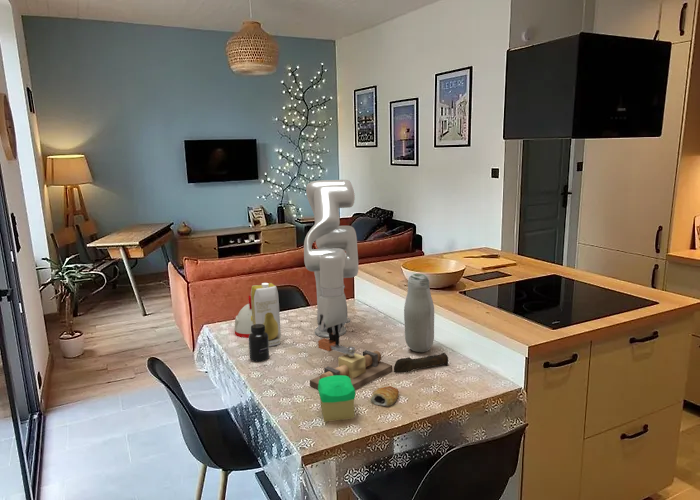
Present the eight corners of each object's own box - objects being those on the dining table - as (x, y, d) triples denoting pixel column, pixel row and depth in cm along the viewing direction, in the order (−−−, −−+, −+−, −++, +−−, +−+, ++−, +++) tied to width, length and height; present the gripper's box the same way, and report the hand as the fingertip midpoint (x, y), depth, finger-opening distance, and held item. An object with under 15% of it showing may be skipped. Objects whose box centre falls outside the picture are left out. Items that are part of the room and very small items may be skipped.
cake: (322, 425, 135) (320, 390, 133) (317, 405, 145) (316, 373, 143) (358, 420, 137) (357, 386, 135) (351, 402, 147) (350, 369, 145)
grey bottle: (439, 349, 183) (439, 273, 177) (422, 358, 176) (422, 279, 170) (416, 343, 190) (415, 269, 184) (399, 351, 182) (398, 275, 177)
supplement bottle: (265, 362, 176) (263, 329, 174) (246, 361, 177) (244, 329, 175) (272, 355, 183) (270, 323, 180) (254, 354, 184) (252, 322, 182)
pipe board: (365, 361, 175) (365, 341, 173) (392, 371, 166) (392, 350, 165) (310, 386, 157) (308, 364, 156) (336, 398, 149) (335, 375, 148)
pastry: (384, 390, 154) (384, 378, 153) (404, 395, 150) (404, 383, 149) (368, 404, 146) (368, 391, 145) (390, 409, 142) (389, 397, 142)
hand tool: (443, 362, 173) (443, 349, 172) (449, 366, 169) (448, 353, 168) (391, 370, 167) (390, 357, 167) (395, 375, 164) (395, 361, 163)
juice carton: (259, 350, 188) (254, 286, 183) (252, 343, 195) (248, 282, 190) (283, 344, 192) (279, 283, 187) (276, 338, 199) (272, 278, 194)
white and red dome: (235, 339, 199) (232, 302, 196) (234, 328, 212) (231, 293, 209) (271, 335, 202) (268, 299, 199) (268, 324, 215) (266, 290, 212)
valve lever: (357, 355, 161) (356, 347, 160) (351, 358, 159) (351, 350, 158) (324, 345, 170) (323, 337, 169) (318, 348, 168) (318, 340, 167)
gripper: (340, 284, 174) (342, 335, 177) (307, 294, 163) (309, 348, 167) (356, 288, 168) (357, 340, 172) (323, 298, 158) (325, 354, 162)
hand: (334, 344), depth 169 cm, fingers closed
